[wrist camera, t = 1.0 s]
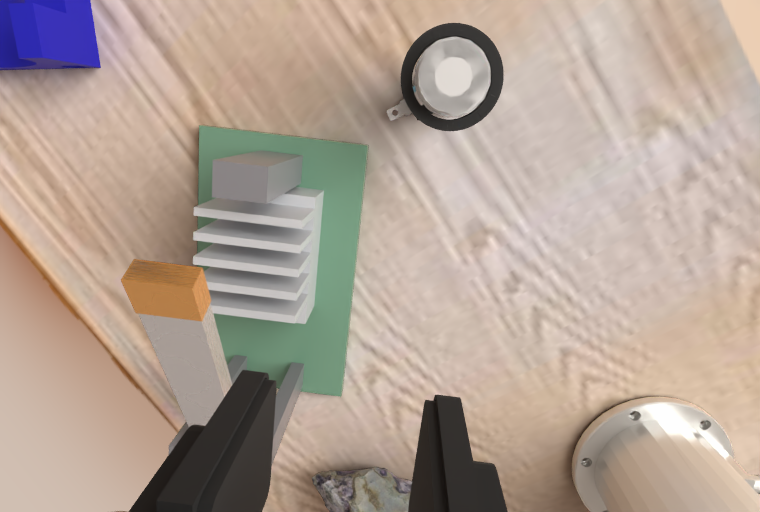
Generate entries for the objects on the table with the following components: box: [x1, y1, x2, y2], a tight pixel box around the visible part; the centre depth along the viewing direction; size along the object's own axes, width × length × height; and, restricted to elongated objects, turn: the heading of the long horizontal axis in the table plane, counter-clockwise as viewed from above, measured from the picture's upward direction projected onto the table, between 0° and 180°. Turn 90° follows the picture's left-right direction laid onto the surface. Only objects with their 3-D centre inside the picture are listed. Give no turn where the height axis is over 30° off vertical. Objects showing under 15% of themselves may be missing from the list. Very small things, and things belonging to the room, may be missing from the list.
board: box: [169, 125, 369, 466], centre depth 33 cm, size 12×20×12 cm, turn 173°
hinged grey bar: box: [121, 259, 232, 427], centre depth 25 cm, size 3×17×1 cm
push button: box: [386, 23, 503, 131], centre depth 30 cm, size 7×5×10 cm
